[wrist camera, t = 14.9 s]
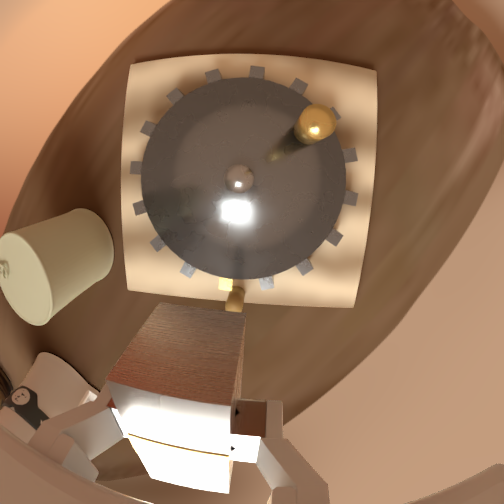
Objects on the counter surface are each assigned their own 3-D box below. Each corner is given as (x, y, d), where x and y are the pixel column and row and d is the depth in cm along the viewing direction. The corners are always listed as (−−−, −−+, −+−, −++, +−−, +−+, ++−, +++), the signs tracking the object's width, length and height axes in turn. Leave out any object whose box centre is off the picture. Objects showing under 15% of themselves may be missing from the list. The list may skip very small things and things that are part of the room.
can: (62, 200, 27) (-11, 221, 15) (119, 219, 27) (46, 252, 16) (57, 267, 30) (-3, 305, 18) (111, 291, 30) (53, 344, 19)
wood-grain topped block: (238, 420, 11) (228, 494, 7) (175, 410, 11) (151, 478, 7) (246, 313, 9) (230, 407, 5) (159, 302, 9) (104, 380, 5)
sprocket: (389, 206, 24) (425, 220, 17) (223, 317, 28) (211, 358, 22) (264, 38, 20) (263, 0, 13) (105, 165, 24) (62, 168, 18)
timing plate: (350, 303, 29) (361, 322, 25) (131, 286, 30) (115, 301, 26) (372, 73, 21) (387, 61, 17) (134, 67, 22) (117, 56, 18)
